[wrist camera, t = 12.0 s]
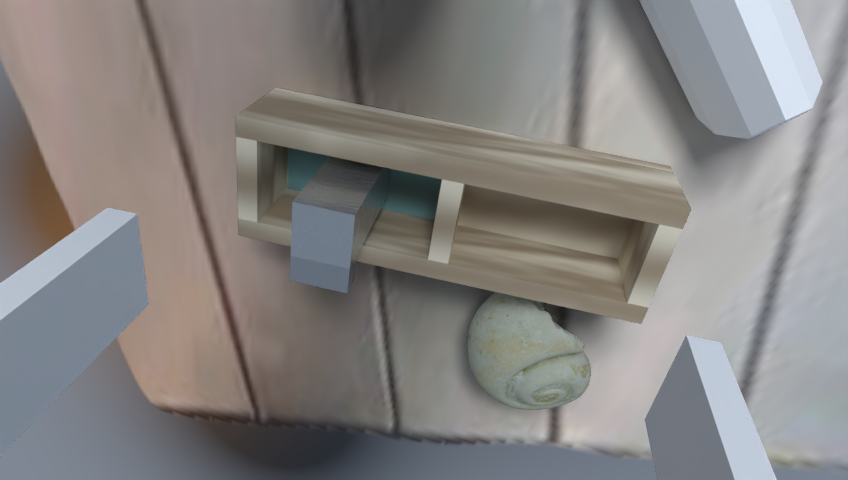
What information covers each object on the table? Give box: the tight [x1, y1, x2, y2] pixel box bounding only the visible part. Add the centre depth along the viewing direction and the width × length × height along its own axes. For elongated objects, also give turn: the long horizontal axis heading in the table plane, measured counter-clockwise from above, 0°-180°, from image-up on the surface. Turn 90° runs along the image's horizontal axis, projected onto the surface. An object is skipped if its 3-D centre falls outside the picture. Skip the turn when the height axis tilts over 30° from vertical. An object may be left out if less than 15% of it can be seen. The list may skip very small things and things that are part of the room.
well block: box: [236, 88, 691, 324], centre depth 44 cm, size 10×30×7 cm, turn 82°
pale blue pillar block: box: [290, 156, 391, 293], centre depth 42 cm, size 6×4×11 cm, turn 171°
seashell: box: [467, 292, 591, 410], centre depth 50 cm, size 13×8×10 cm
